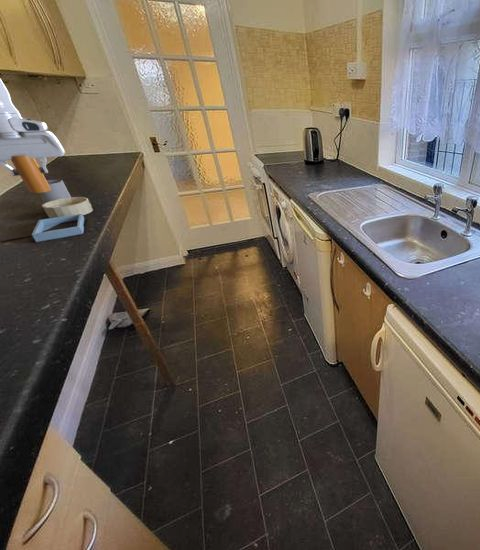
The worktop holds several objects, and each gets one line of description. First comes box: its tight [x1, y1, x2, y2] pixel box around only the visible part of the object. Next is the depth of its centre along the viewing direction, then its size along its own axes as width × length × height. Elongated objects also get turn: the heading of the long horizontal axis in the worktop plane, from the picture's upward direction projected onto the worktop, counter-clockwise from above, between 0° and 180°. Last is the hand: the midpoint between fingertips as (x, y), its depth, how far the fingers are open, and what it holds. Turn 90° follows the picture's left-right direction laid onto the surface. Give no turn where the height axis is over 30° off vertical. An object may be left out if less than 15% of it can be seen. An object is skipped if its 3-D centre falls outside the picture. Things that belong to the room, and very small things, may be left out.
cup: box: [38, 179, 72, 204], centre depth 120 cm, size 8×8×10 cm
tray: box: [31, 214, 85, 243], centre depth 102 cm, size 12×16×3 cm
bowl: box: [41, 196, 94, 219], centre depth 114 cm, size 13×13×5 cm
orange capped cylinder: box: [10, 155, 51, 194], centre depth 91 cm, size 5×5×15 cm
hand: (31, 174), depth 92 cm, fingers closed on orange capped cylinder, 5 cm apart
